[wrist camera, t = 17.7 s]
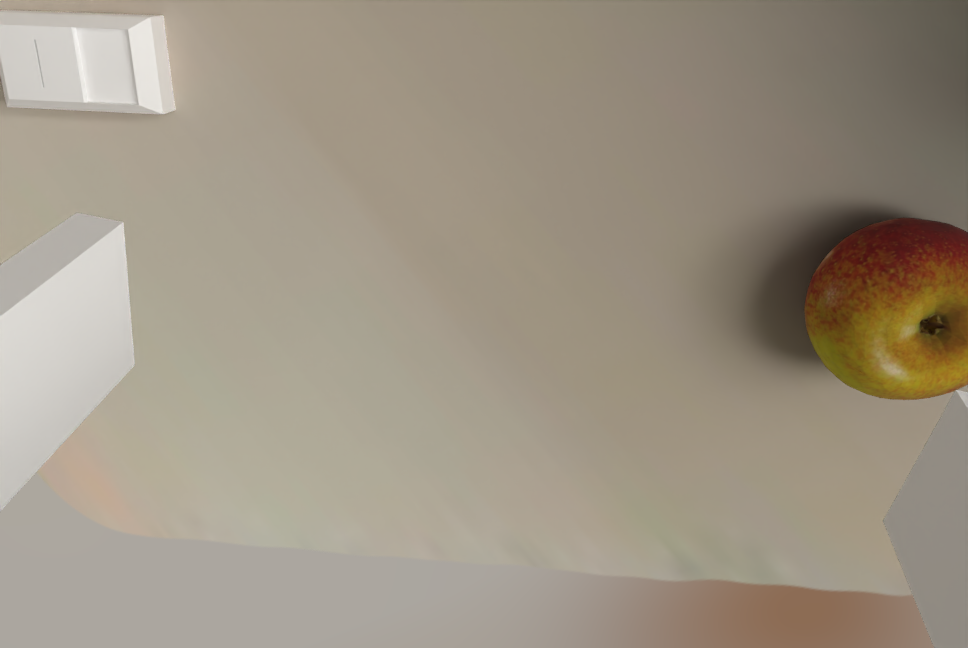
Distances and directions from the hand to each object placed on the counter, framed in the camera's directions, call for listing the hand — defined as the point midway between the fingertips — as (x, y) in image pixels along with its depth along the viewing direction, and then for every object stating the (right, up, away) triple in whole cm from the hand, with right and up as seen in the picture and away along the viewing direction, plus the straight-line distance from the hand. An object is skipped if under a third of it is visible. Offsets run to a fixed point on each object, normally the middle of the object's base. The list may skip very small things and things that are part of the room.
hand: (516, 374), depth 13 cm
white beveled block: (-22, +15, +32) cm, 42 cm away
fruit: (+21, +3, +32) cm, 38 cm away
